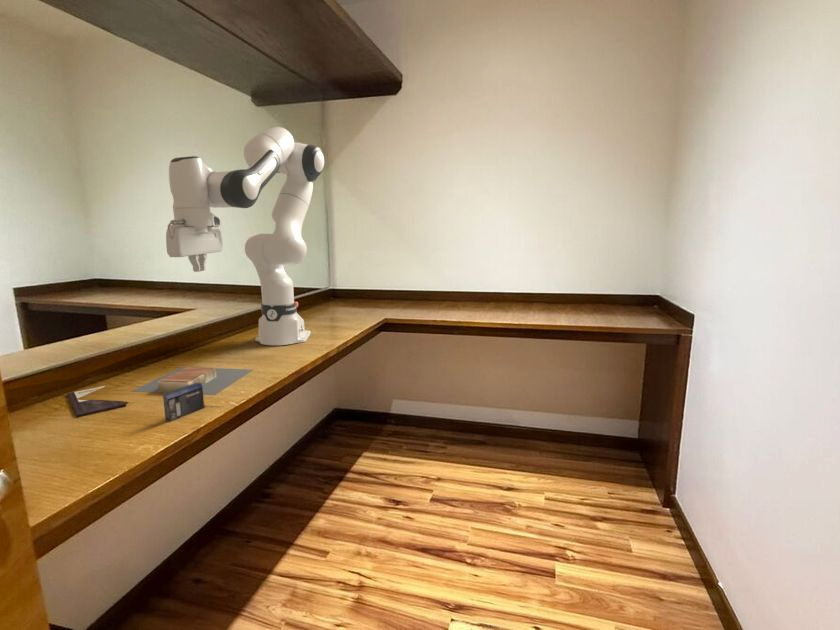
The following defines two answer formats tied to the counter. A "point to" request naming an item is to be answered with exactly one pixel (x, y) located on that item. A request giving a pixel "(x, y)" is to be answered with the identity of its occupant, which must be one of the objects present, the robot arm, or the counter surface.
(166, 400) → the mini dv tape
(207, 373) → the wooden block
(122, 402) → the chocolate bar
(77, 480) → the counter surface
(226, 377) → the mat
